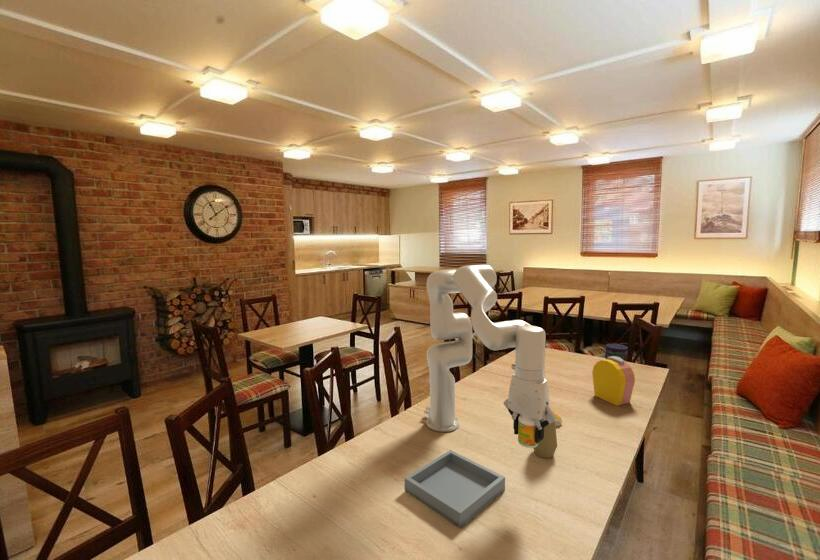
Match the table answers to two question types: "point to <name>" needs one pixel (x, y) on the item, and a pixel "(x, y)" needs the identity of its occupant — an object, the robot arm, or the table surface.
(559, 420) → the bread roll
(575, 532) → the table surface
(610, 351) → the storage jar
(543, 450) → the squeeze bottle
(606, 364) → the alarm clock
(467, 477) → the box
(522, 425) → the supplement bottle
